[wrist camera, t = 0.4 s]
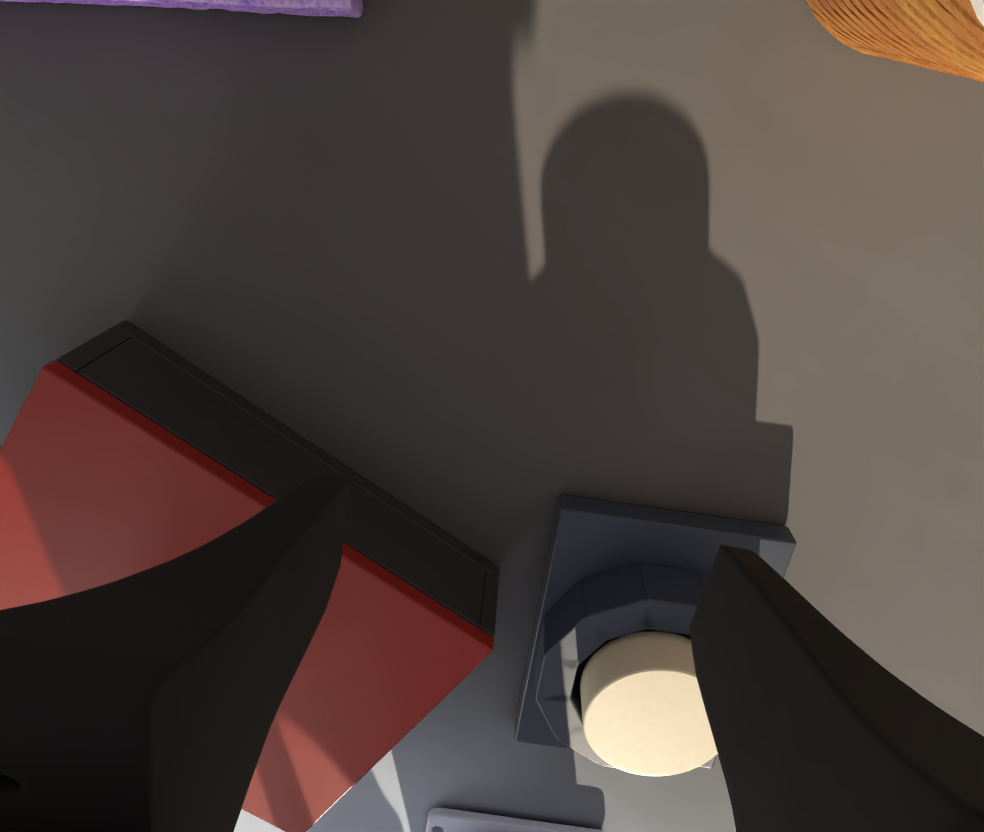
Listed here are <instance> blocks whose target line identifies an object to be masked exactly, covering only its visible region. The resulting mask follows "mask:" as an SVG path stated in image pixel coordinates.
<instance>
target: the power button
mask: <svg viewBox="0 0 984 832" xmlns="http://www.w3.org/2000/svg"><path fill="white" fill-rule="evenodd" d="M580 693H581V706H582V720H583V729H584V734H585V737H586V739H587V742H588V743H589V745H590V747H591V748H592V749H593V751H594V752H595V753H596V754H597V755H598V756H599V757H600V758H601V759H602V760H604V761H605V762H607V763H608V764H610V765H612V766H614V767H615V768H618V769H620V770H623V771H626V772H629V773H632V774H638V775H644V776H667V775H674V774H679V773H683V772H686V771H689V770H692V769H694V768H697V767H699V766H701V765H703V764H705V763H706V762H708V761H709V760H711V759H712V758H713V757H714V756H715V755H717V754H718V752H717V749H716V745H715V742H714V738H713V735H712V731H711V728H710V724H709V721H708V717H707V714H706V710H705V707H704V703H703V700H702V696H701V692H700V689H699V685H698V681H697V677H696V673H695V666H694V660H693V653H692V644H691V639H688V638H686V637H684V636H681V635H678V634H674V633H669V632H661V631H645V632H637V633H632V634H628V635H625V636H622V637H619V638H617V639H615V640H612V641H611V642H609V643H607V644H606V645H604V646H603V647H601V648H600V649H599V650H598V651H597V652H596V653H595V654H594V655H593V656H592V657H591V658H590V659H589V661H588V662H587V664H586V666H585V668H584V670H583V673H582V676H581V681H580Z"/></svg>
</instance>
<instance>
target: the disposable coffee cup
mask: <svg viewBox="0 0 984 832" xmlns="http://www.w3.org/2000/svg"><path fill="white" fill-rule="evenodd" d="M806 1H807V3H808V5H809V7H810V8H811V10H812V12H813V14H814V16H815V17H816V19H817V20H818V21H819V22H820V23H821V25H822V26H823V27H824V28H825V30H826V31H827V32H829V33H830V34H831V35H833V36H834V37H835V38H837V39H838V40H839V41H840V42H842V43H843V44H844V45H846V46H848V47H851V48H853V49H855V50H858V51H860V52H862V53H865V54H868V55H874V56H880V57H884V58H888V59H893V60H896V61H900V62H904V63H908V64H912V65H917V66H921V67H925V68H929V69H932V70H935V71H940V72H945V73H949V74H954V75H958V76H962V77H967V78H971V79H974V80H977V81H981V82H984V0H806Z"/></svg>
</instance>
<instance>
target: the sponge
mask: <svg viewBox="0 0 984 832" xmlns="http://www.w3.org/2000/svg"><path fill="white" fill-rule="evenodd" d="M0 1H9V2H52V3H75V4H99V5H111V6H121V5H129V6H149V7H162V8H174V7H175V8H187V9H194V10H207V9H226V10H229V11H233V12H234V11H244V12H253V13H261V14H274V13H284V14H292V15H302V16H344V17H355V18H359V17H360V16H361V15H362V13H363V4H362V0H0Z"/></svg>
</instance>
